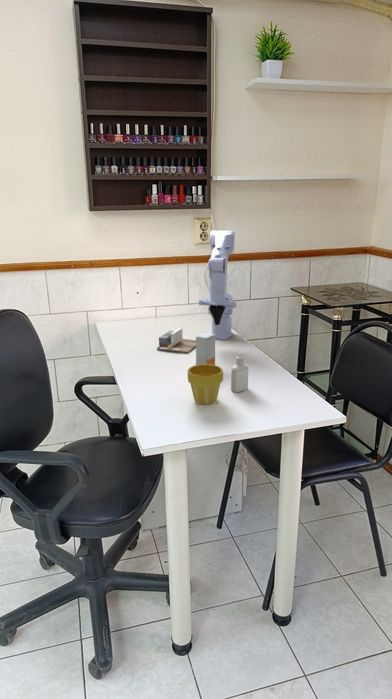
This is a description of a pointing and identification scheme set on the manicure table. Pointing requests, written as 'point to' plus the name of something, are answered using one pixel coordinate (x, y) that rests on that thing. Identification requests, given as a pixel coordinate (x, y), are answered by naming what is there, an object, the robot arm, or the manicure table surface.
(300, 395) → the manicure table surface
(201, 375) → the plant pot
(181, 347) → the gauge frame
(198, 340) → the skincare box
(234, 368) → the eye dropper bottle
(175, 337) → the paddle
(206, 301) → the robot arm
